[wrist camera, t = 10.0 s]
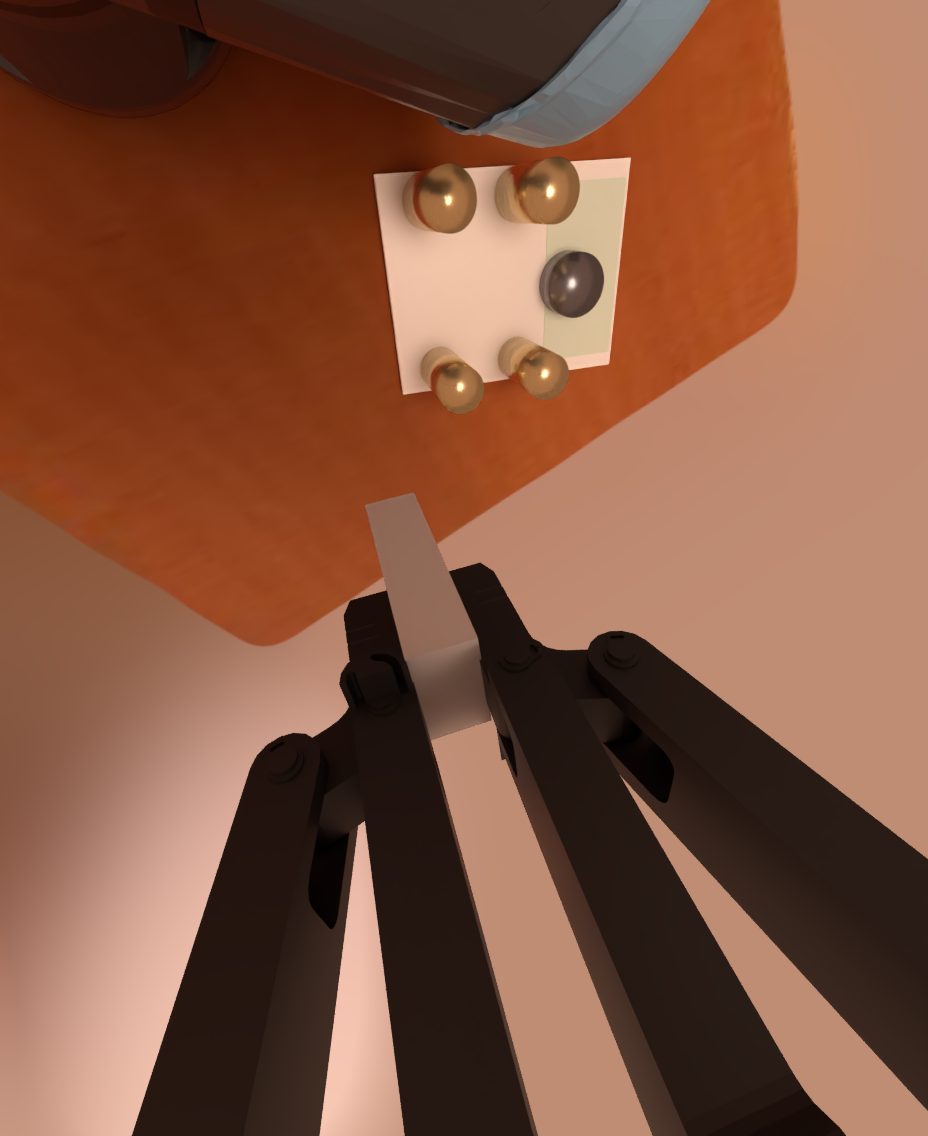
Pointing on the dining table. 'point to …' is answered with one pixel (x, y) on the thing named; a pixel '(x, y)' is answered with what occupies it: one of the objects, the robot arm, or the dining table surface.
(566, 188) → the cylinder
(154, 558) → the dining table surface
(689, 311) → the dining table surface
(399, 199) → the board
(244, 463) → the dining table surface
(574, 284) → the dark metal puck
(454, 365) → the cylinder
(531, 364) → the cylinder
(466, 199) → the cylinder
